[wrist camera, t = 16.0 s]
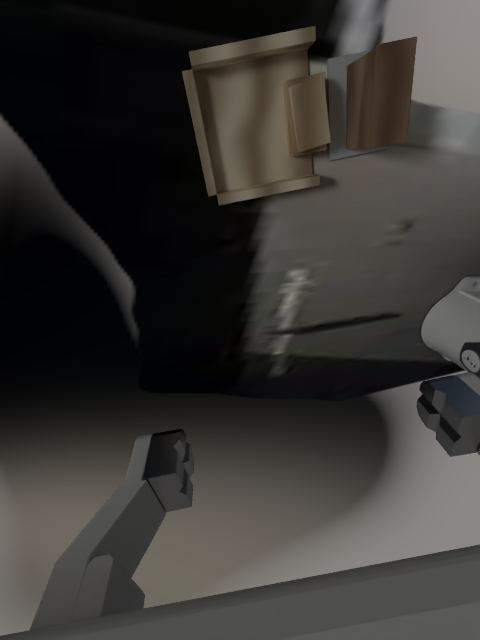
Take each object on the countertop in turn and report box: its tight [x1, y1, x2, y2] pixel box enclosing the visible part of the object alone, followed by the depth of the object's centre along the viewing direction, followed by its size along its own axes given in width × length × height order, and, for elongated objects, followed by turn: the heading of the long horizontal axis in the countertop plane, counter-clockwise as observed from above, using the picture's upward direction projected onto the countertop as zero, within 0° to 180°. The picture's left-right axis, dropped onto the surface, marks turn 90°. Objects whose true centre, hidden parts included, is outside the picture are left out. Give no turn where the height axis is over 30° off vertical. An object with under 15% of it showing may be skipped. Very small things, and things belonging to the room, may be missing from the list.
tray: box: [182, 26, 320, 205], centre depth 37 cm, size 15×16×4 cm
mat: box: [327, 50, 386, 160], centre depth 38 cm, size 8×11×1 cm
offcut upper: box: [288, 75, 331, 152], centre depth 36 cm, size 4×7×2 cm, turn 16°
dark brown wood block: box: [346, 37, 417, 149], centre depth 35 cm, size 4×9×8 cm, turn 10°
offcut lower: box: [283, 72, 327, 157], centre depth 37 cm, size 4×8×2 cm, turn 10°
